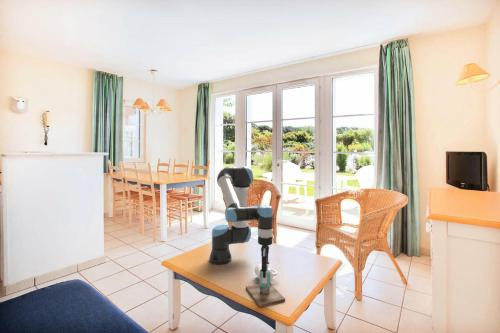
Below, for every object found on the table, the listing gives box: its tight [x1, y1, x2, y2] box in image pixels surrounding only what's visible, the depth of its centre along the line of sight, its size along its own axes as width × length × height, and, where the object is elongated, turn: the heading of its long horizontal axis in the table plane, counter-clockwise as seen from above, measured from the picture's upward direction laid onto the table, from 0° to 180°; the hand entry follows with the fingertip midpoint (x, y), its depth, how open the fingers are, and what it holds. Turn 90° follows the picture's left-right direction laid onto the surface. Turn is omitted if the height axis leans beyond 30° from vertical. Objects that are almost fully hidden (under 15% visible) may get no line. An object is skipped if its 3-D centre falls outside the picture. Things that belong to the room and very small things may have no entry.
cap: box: [259, 270, 271, 288], centre depth 131 cm, size 5×5×7 cm
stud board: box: [245, 282, 286, 308], centre depth 131 cm, size 18×14×10 cm
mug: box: [254, 262, 278, 283], centre depth 147 cm, size 12×10×8 cm
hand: (264, 279), depth 131 cm, fingers open, 6 cm apart
